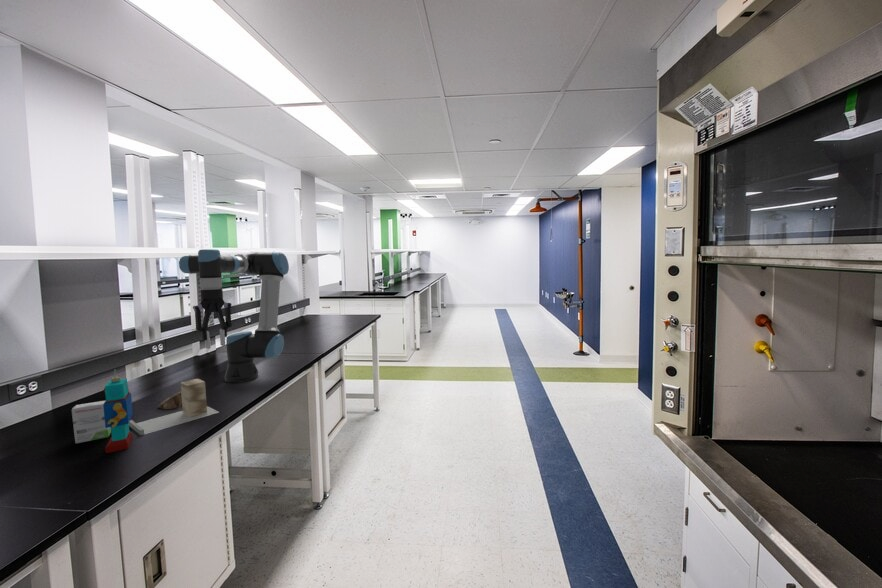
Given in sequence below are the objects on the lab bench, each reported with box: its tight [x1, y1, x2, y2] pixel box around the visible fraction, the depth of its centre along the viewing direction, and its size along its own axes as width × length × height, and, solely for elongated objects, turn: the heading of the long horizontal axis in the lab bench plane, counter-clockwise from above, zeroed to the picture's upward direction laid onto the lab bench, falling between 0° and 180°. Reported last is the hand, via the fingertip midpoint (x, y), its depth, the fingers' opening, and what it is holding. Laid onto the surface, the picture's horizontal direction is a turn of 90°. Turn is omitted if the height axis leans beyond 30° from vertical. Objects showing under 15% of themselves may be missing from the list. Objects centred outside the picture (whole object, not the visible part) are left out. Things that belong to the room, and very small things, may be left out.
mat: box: [129, 405, 220, 436], centre depth 146 cm, size 25×14×2 cm, turn 142°
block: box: [180, 378, 208, 418], centre depth 151 cm, size 6×7×12 cm
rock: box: [157, 390, 182, 410], centre depth 163 cm, size 15×10×6 cm
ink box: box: [71, 400, 112, 444], centre depth 131 cm, size 9×5×12 cm, turn 121°
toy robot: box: [103, 369, 134, 454], centre depth 125 cm, size 12×6×25 cm, turn 30°
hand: (215, 346), depth 156 cm, fingers open, 5 cm apart
